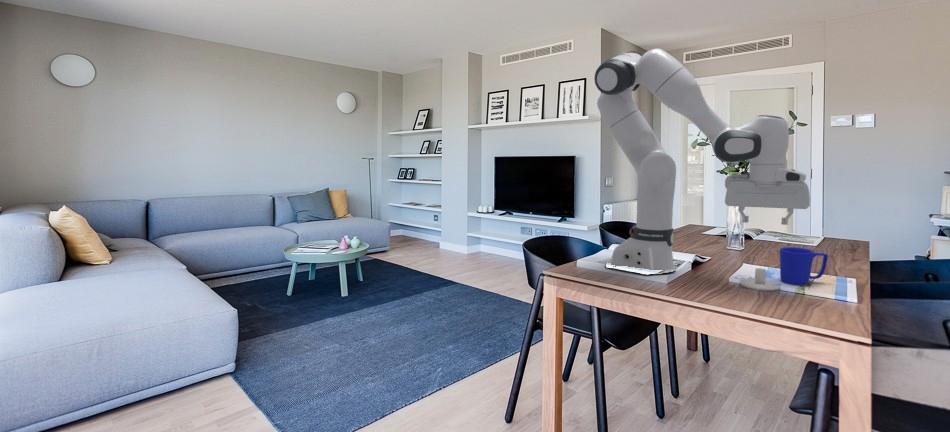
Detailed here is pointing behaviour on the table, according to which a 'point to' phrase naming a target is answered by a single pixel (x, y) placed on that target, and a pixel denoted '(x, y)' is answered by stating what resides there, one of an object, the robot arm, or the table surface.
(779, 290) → the mat
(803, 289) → the table surface
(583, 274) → the table surface
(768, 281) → the lid
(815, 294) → the table surface
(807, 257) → the mug
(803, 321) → the table surface
